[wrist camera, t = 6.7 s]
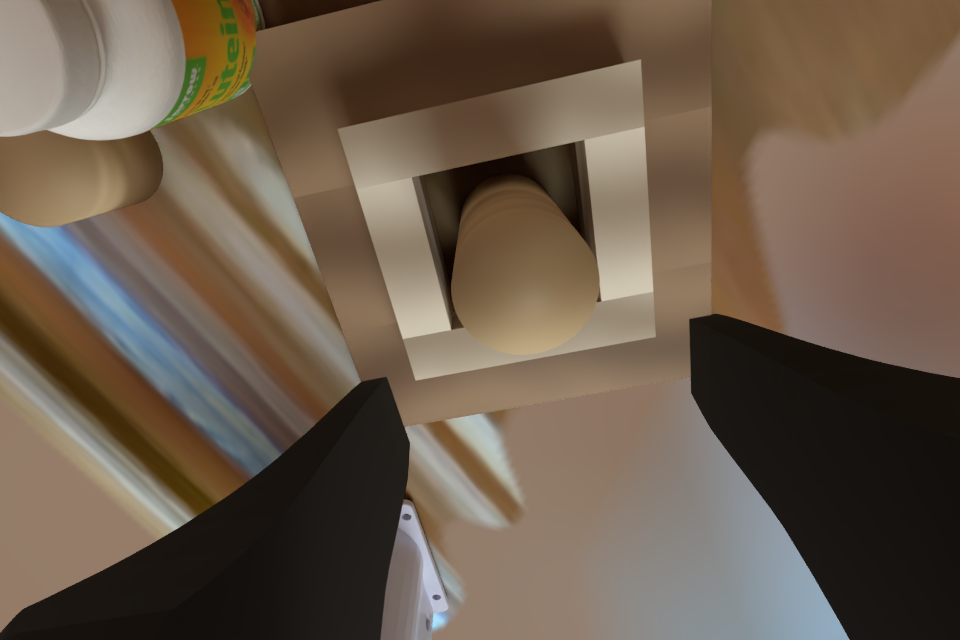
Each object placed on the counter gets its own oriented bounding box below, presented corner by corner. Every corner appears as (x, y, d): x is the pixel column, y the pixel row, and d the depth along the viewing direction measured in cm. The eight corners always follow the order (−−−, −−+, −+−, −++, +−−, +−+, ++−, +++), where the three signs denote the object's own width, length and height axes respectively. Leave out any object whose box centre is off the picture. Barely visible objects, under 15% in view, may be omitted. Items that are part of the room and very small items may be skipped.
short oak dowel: (181, 193, 19) (112, 214, 16) (92, 213, 20) (5, 237, 16) (131, 87, 18) (42, 83, 14) (36, 110, 18) (-76, 112, 14)
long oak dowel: (559, 258, 20) (604, 342, 13) (469, 273, 21) (466, 364, 14) (548, 164, 19) (593, 202, 12) (452, 183, 19) (436, 230, 12)
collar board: (699, 360, 23) (730, 395, 20) (383, 416, 24) (371, 456, 21) (695, -70, 16) (742, -107, 13) (249, 41, 17) (205, 29, 14)
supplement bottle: (262, 122, 19) (112, 205, 11) (113, 71, 18) (-183, 122, 9) (278, -37, 16) (92, -89, 8) (102, -109, 15) (-330, -258, 7)
